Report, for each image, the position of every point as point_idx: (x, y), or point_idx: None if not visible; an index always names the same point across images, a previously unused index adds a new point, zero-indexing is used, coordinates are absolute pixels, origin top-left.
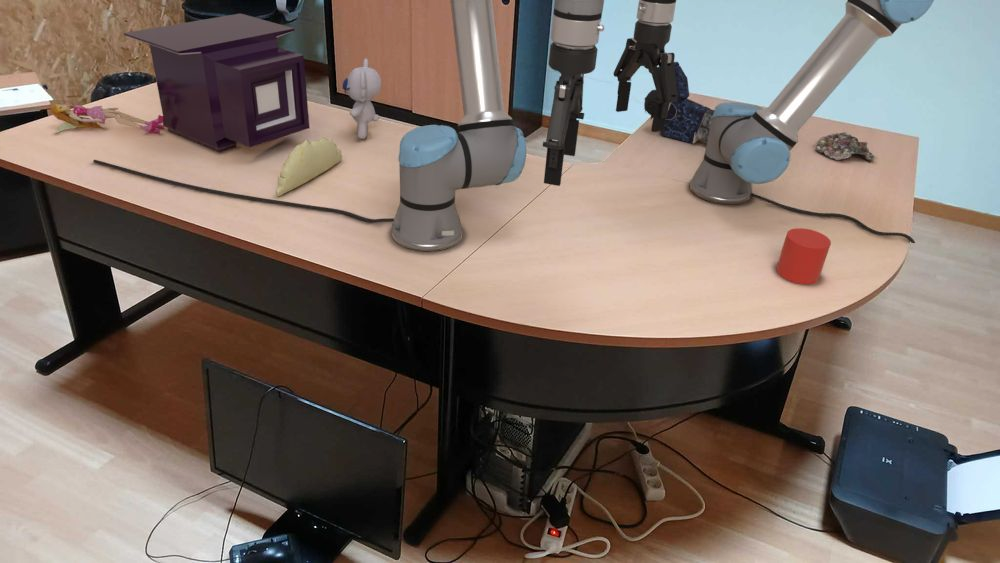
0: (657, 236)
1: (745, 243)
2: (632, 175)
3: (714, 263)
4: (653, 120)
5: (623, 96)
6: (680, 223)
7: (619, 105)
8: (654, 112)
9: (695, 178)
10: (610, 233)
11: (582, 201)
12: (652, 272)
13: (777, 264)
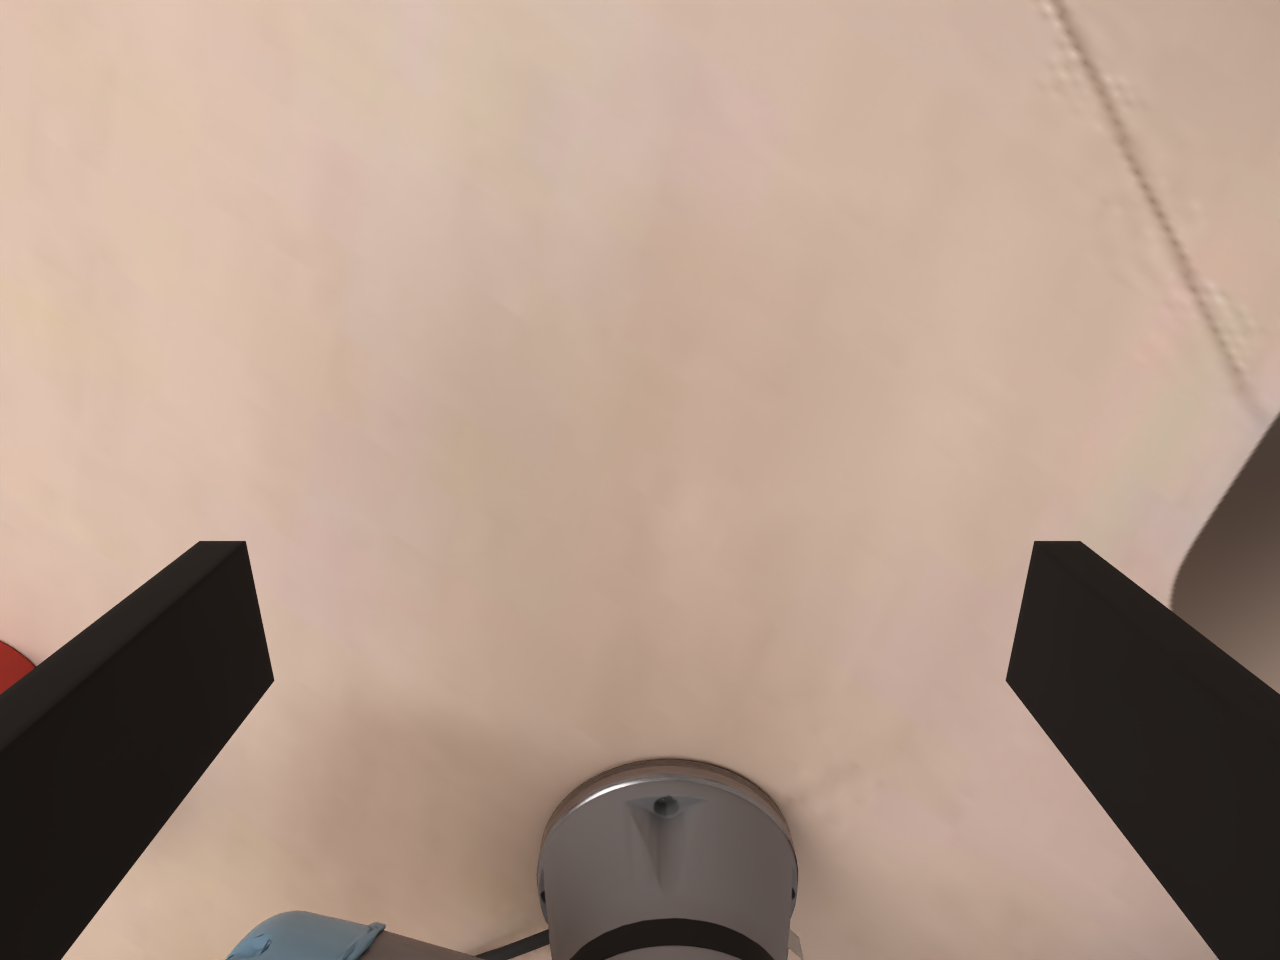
0: (368, 362)
1: None
2: (981, 634)
3: (83, 451)
4: (140, 619)
5: (1157, 737)
6: (460, 542)
7: (1081, 602)
8: (44, 700)
9: (724, 820)
10: (456, 135)
11: (846, 205)
12: (24, 103)
13: (5, 663)
